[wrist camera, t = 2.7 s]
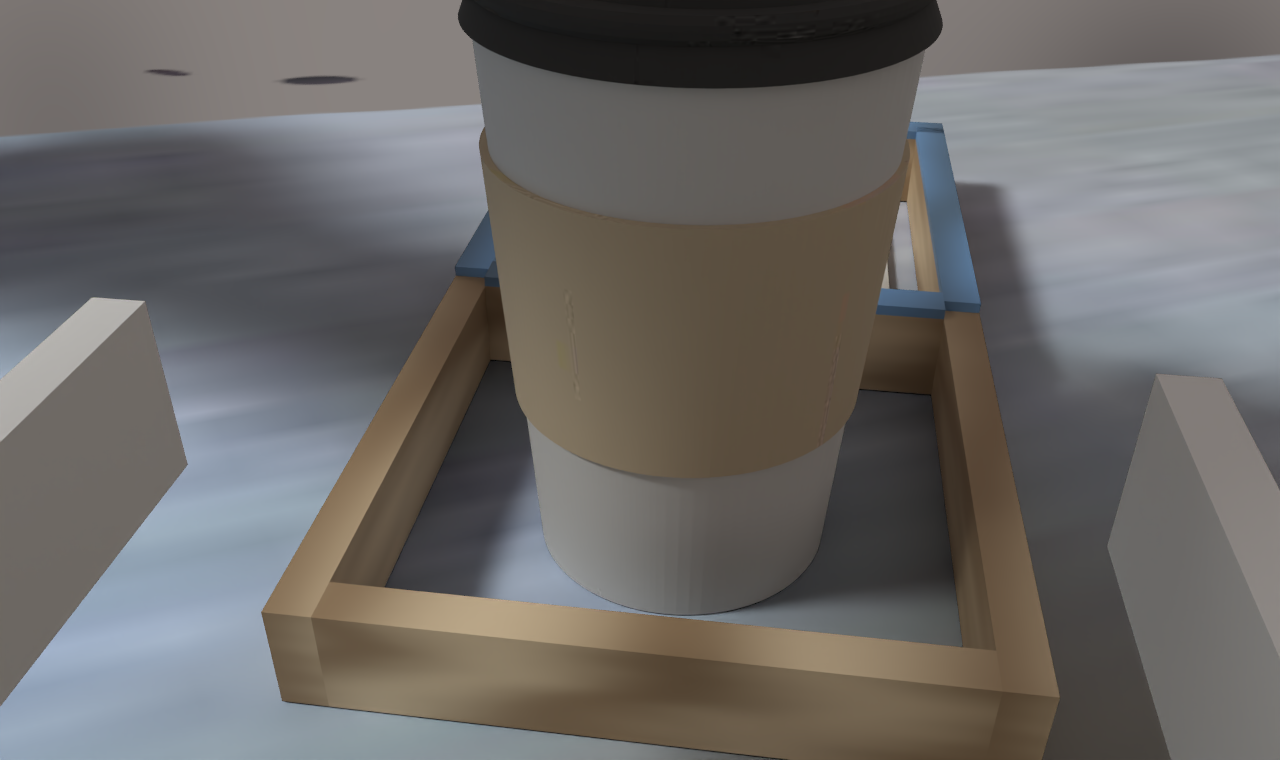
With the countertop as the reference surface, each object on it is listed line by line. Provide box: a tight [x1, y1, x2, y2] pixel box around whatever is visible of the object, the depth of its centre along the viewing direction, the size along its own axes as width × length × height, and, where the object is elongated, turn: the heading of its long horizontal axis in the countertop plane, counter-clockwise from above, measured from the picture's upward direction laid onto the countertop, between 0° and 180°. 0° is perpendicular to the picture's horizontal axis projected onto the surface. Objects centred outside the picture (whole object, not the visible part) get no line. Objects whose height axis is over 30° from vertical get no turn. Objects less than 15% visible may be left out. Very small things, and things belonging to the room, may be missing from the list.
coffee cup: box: [458, 0, 943, 615], centre depth 25 cm, size 9×9×15 cm
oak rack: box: [261, 122, 1060, 760], centre depth 34 cm, size 15×28×3 cm, turn 172°
